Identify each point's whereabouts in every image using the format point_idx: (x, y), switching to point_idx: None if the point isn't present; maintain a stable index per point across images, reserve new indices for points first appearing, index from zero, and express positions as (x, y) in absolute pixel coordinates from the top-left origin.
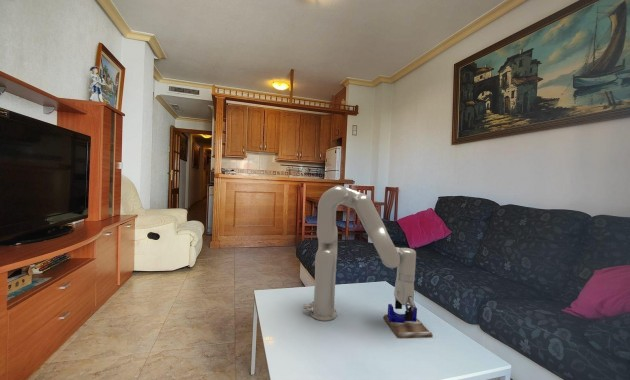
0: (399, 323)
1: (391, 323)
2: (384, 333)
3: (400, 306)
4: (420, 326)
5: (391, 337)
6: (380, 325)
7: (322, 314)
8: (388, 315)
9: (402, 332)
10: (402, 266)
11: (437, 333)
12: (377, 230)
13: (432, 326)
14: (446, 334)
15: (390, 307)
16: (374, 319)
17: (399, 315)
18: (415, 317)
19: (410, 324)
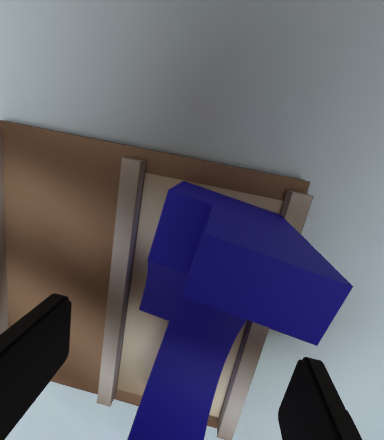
0: (118, 238)
1: (130, 160)
2: (74, 39)
3: (291, 433)
4: (88, 367)
5: (17, 73)
6: (198, 74)
7: None
8: (253, 210)
9: (27, 189)
10: None
11: (44, 402)
12: None
13: (111, 431)
14: (32, 432)
15: (204, 241)
16: (319, 69)
17: (212, 317)
18: (136, 413)
19: (108, 320)
